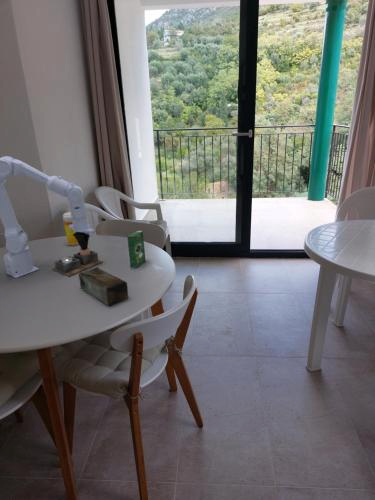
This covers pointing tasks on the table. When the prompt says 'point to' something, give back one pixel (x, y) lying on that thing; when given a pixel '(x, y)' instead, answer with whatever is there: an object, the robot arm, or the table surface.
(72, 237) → the beer can
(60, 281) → the table surface
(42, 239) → the table surface
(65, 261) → the aluminium plug
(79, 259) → the socket board
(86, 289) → the beverage carton
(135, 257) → the coffee box
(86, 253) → the terracotta plug
